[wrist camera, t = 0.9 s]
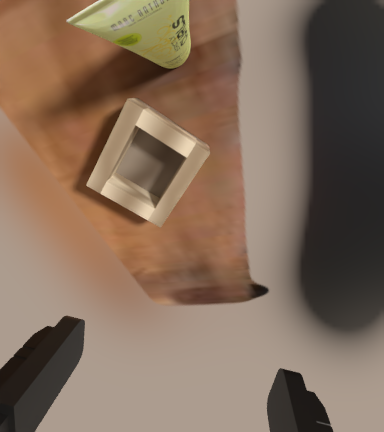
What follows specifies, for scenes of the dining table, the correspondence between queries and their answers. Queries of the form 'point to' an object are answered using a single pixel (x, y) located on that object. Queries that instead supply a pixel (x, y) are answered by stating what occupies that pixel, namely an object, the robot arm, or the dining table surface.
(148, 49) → the tube
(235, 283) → the dining table surface
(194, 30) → the dining table surface
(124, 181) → the socket block
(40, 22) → the dining table surface
